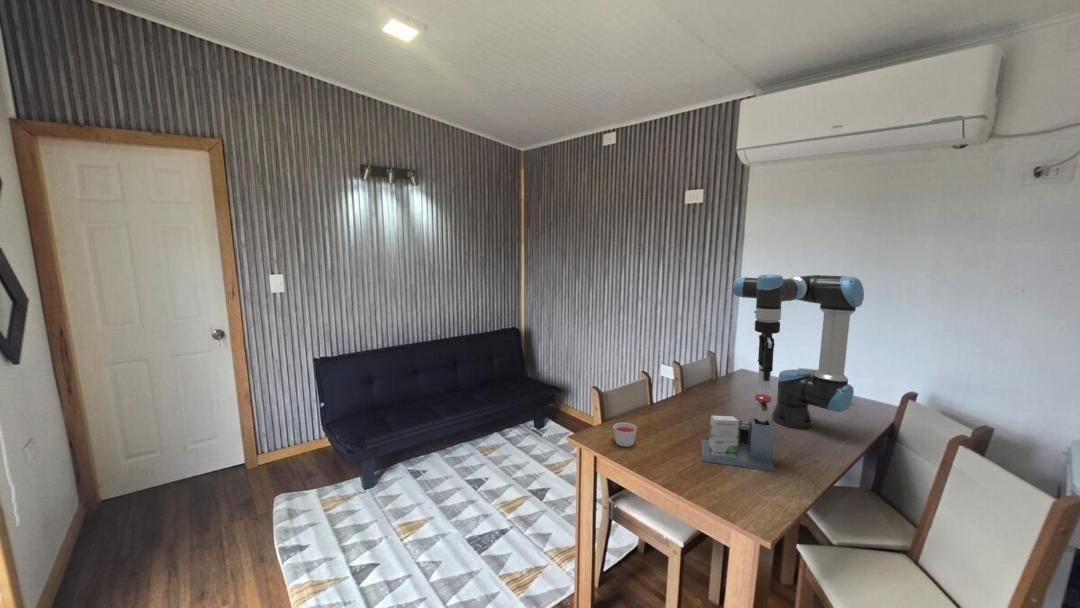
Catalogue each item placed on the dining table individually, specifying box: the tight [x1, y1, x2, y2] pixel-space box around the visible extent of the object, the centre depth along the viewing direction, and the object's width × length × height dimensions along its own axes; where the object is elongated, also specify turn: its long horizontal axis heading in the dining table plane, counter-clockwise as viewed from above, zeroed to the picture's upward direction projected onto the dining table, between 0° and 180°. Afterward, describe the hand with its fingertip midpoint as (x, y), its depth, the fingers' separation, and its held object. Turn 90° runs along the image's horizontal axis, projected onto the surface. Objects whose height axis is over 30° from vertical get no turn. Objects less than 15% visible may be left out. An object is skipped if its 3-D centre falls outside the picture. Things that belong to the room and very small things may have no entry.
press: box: [700, 417, 776, 472], centre depth 150 cm, size 22×14×14 cm, turn 71°
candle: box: [612, 422, 638, 448], centre depth 163 cm, size 9×9×6 cm
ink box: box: [708, 415, 740, 453], centre depth 152 cm, size 9×5×12 cm, turn 84°
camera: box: [738, 420, 749, 445], centre depth 164 cm, size 16×9×10 cm, turn 65°
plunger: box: [754, 393, 772, 425], centre depth 147 cm, size 5×9×15 cm, turn 161°
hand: (763, 386), depth 145 cm, fingers open, 5 cm apart
